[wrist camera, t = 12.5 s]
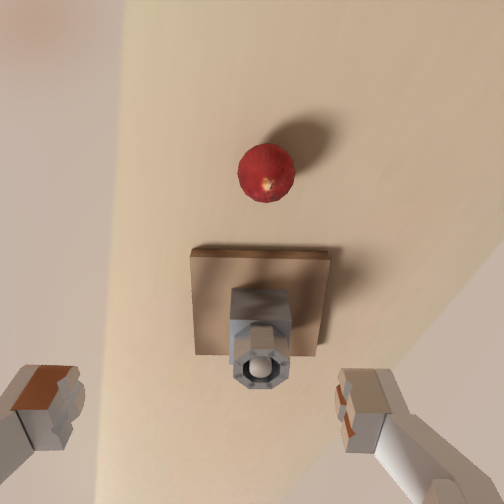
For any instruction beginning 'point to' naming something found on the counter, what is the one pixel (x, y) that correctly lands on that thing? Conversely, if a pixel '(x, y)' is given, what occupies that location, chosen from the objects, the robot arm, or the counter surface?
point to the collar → (261, 344)
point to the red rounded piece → (266, 173)
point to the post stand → (257, 299)
